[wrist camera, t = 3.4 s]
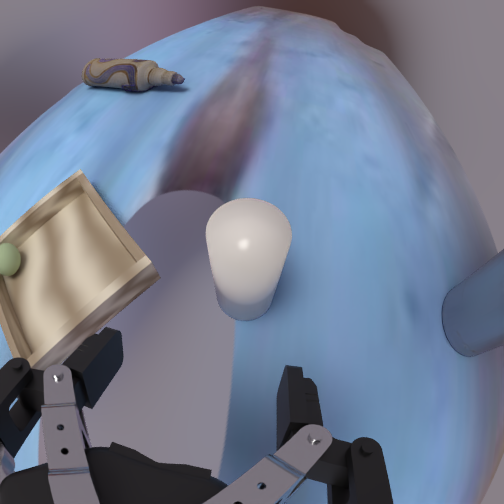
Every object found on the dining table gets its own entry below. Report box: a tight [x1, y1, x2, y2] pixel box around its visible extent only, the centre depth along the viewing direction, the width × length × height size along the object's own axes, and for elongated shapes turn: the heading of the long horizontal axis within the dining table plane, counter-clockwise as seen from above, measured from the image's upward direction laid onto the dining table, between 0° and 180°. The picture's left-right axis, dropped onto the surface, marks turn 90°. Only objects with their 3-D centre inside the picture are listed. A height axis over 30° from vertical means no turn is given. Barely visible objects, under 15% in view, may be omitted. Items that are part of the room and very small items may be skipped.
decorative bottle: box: [82, 58, 185, 92], centre depth 44 cm, size 26×8×7 cm, turn 65°
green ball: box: [0, 243, 21, 276], centre depth 25 cm, size 4×4×4 cm
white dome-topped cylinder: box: [206, 198, 292, 321], centre depth 23 cm, size 5×5×11 cm
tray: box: [0, 169, 160, 371], centre depth 26 cm, size 18×18×4 cm
